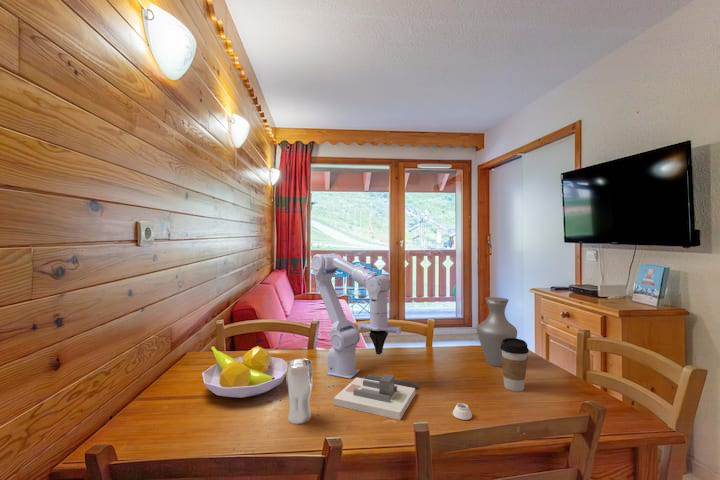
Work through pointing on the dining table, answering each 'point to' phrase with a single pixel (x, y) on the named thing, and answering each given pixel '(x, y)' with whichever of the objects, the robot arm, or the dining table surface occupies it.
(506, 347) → the coffee cup
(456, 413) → the lidless jar
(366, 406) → the white board with rails
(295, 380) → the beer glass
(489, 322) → the vase
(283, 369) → the fruit bowl
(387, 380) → the switch knob
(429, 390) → the dining table surface
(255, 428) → the dining table surface
